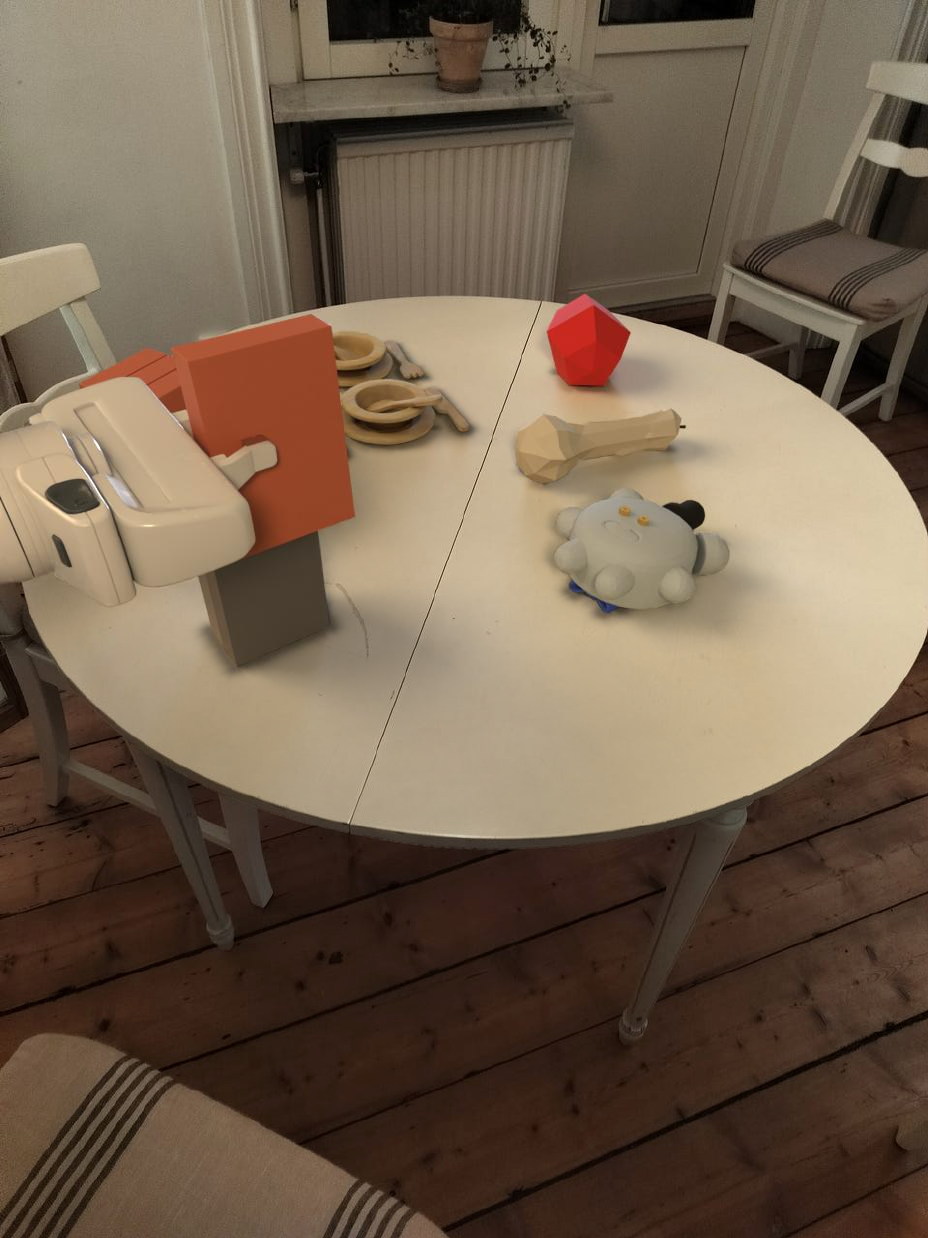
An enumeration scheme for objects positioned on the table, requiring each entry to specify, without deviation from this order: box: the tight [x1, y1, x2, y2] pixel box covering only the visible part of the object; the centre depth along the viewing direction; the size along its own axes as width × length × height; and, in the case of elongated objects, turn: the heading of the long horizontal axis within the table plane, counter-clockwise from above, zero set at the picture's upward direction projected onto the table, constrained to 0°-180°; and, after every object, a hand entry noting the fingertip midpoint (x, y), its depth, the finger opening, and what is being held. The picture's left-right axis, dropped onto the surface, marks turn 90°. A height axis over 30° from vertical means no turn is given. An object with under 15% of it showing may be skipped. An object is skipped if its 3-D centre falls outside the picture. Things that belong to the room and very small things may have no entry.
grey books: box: [197, 530, 330, 667], centre depth 77 cm, size 10×6×17 cm, turn 125°
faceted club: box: [514, 408, 687, 484], centre depth 104 cm, size 9×8×25 cm
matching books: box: [78, 347, 187, 413], centre depth 95 cm, size 10×9×15 cm
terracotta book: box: [170, 313, 356, 559], centre depth 59 cm, size 10×3×15 cm, turn 125°
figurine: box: [553, 487, 731, 614], centre depth 89 cm, size 17×8×20 cm
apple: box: [546, 293, 632, 387], centre depth 121 cm, size 12×12×15 cm
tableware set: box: [332, 330, 470, 446], centre depth 116 cm, size 30×20×6 cm, turn 24°
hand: (258, 434), depth 58 cm, fingers closed on terracotta book, 3 cm apart
